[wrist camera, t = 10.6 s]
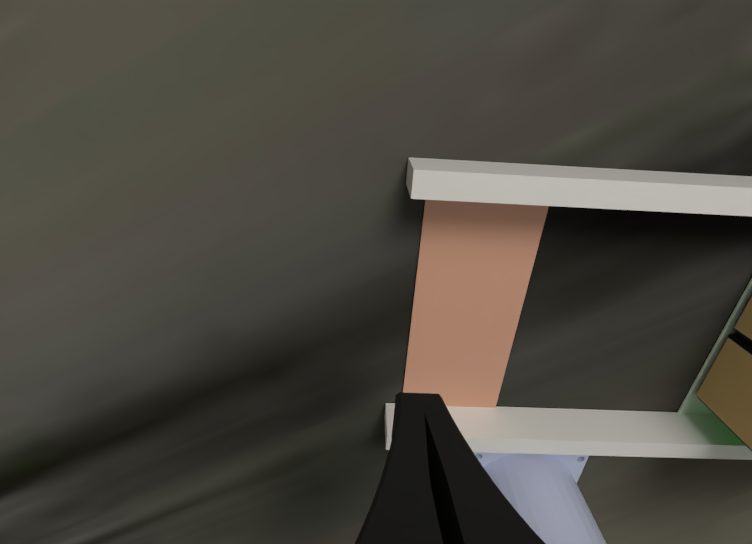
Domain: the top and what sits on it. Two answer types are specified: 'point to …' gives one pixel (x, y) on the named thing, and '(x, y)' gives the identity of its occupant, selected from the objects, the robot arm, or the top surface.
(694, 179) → the trap channel
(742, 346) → the puzzle cube
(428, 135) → the top surface
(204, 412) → the top surface
